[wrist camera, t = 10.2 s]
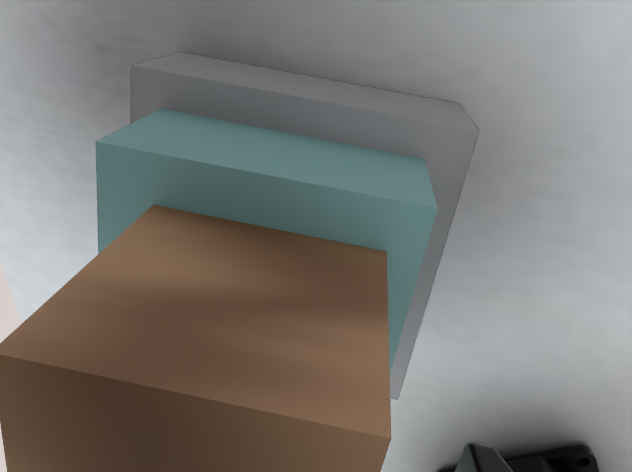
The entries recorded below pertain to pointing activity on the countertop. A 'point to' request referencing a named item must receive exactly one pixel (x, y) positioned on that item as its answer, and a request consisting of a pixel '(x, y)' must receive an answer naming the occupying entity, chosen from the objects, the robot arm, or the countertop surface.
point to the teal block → (271, 189)
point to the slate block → (326, 134)
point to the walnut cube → (204, 356)
